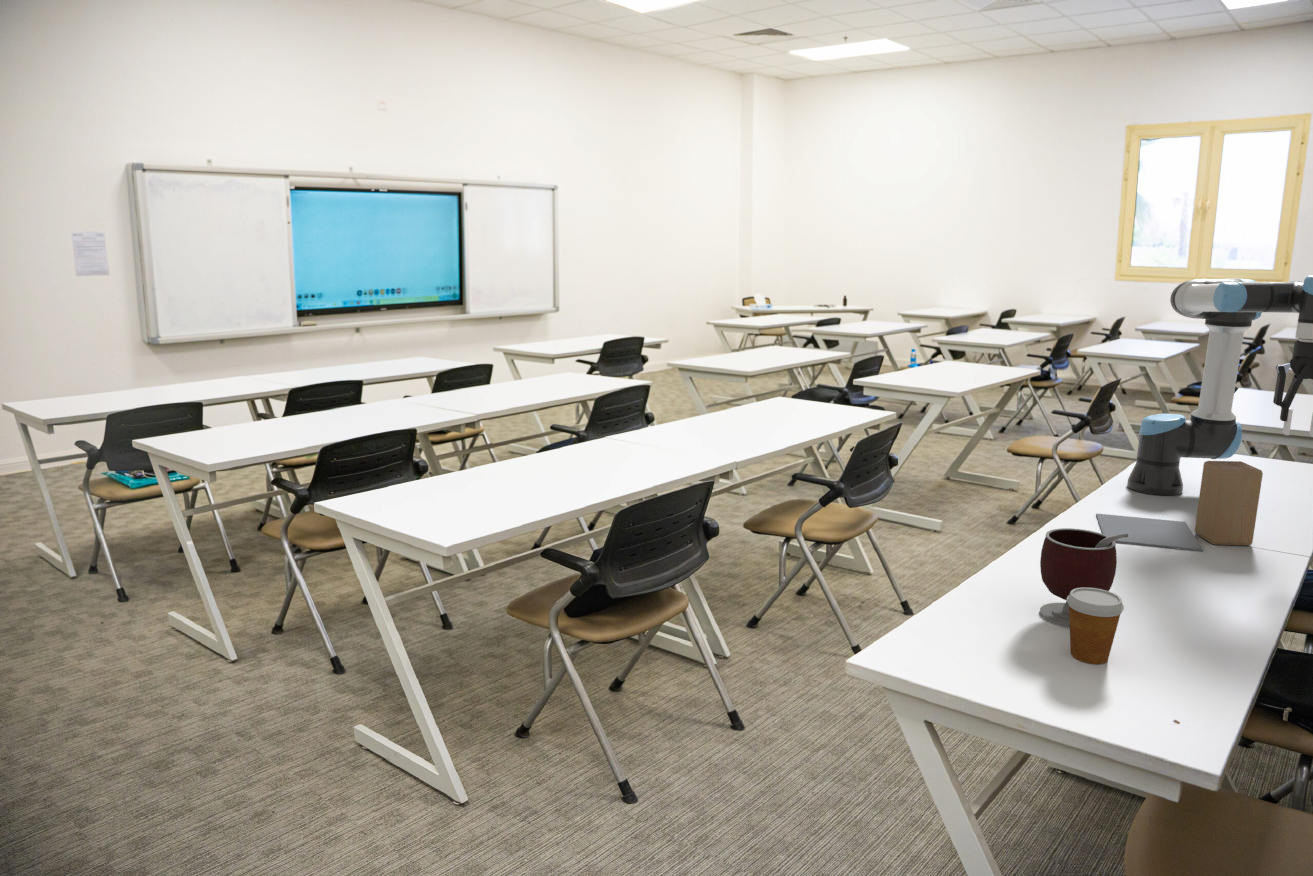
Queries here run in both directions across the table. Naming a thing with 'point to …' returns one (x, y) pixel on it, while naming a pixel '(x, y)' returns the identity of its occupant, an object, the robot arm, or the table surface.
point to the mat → (1149, 531)
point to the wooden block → (1228, 502)
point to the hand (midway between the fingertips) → (1299, 434)
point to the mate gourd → (1075, 566)
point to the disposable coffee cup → (1093, 623)
